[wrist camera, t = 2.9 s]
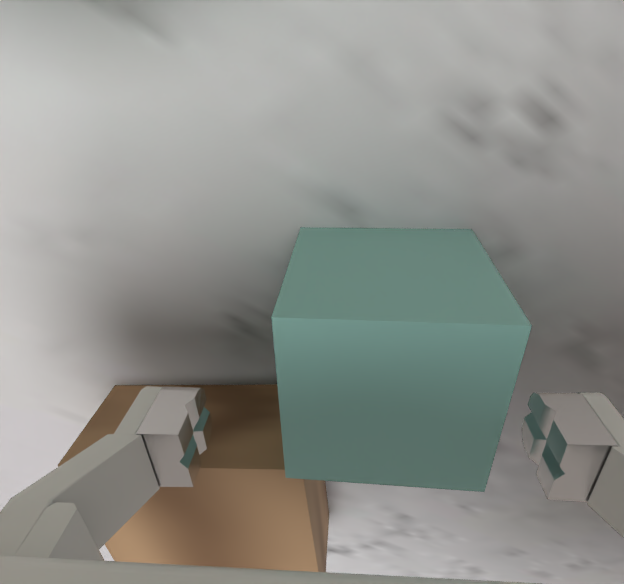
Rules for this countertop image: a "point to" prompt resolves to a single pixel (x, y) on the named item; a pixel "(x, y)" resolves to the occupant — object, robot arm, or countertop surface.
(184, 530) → the walnut slab
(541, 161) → the countertop surface
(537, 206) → the countertop surface
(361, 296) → the teal cube
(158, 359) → the countertop surface
